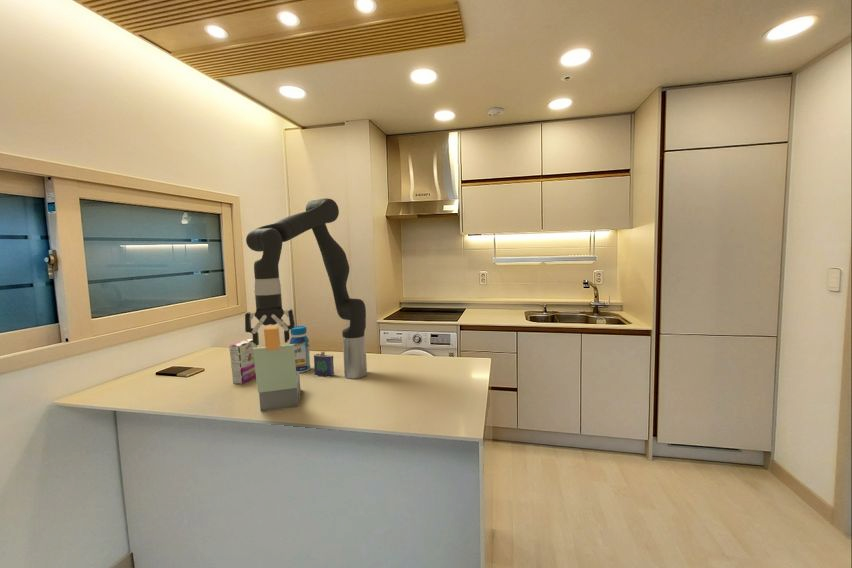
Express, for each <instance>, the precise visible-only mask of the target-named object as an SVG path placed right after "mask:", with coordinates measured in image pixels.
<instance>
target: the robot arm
mask: <svg viewBox="0 0 852 568" xmlns="http://www.w3.org/2000/svg"><path fill="white" fill-rule="evenodd" d="M339 210H340V209H339V206H338V204H337V202H336V201H335V200H333V199H332V198H328V197H327V198H326V197H325V198H320V199H315V200H314V199H313V200H309V201H308V202H307V203H306V205H305V211H303V212H298V213H295V214H292V215H288V216H287V217H283V218H281V219H279V220H277V221H275V222H273V223H269V224H265V225H263V226H259V227H256V228H253V229H251V231H249V232H248V234H247V235H246V238H245V242H246V246H247V247H248V248H249V249H250V250H251V251H255V252H261V253H262V256H261V258H260V259H257V260H255V261H254V263H253V273H254V298H255V309H256V310H255V312H249V311H247V312H246V313H245V314H244V330H245V332H246V333H250V334H252V335H251V336H252V339H253V343H254V344H255V345H257V346H259V345H260V339H259V338H260V337H259V332H258V331H259V330H260V328H261V326H262V325H264V326H268V325H269V326H276V325H278V326H280V327H281V328H282V329H283V330H284V331H283V337H284V338H283V339H284V343H288V341H290V339H291V335H290V331H291V329H292V328H294V326H296V324H295V316H294V310H293V309H292V308H290V309H287V310H286V309H285V310H284V309H283V300H282V285H281V280H280V272H279V271H280V270H279V263H280V259H281V254H282V248H283V243H285V242H288V241H290V240H292V239H294V238H296V237H297V236H299V235H302V234H304V233H305V232H307V231H310V230H312V233H313V235H314V237H315V240H316V243H317V246H318V248H319V251H320V254H321V257H322V262H323V264H324V268H325V270H326V273H327V277H328V280H329V283H330V286H331V291H332V295H333V300H334V305H335V310H336V312H337V315H338V317H339V318H340V319H342V320H344V321H345V320H347V321H349V326H348V327H346V328H344V329H342V333H341V334H342V336H341V337H342V353H343V370H344V371H343V372H344V377H345V378H346V379H353V380H355V379H360V378H363V377H367V376H368V367H367V366H368V365H367V353H366V340H365V339H366V337H365V332H366V327H367V309H366V304H365V302H364V301H363V300H362V299H360V298H352V297H351V298H350V296H349V292H348V288H347V284H348V283H347V282H348V278H349V274H350V265H349V261H348V258H347V257H348V256H347V254H346V252H345V250H344V249H343V248H342V246H341V245H340V244H339V243H338V242H337V241H336V240H335V238H334V237H332V235H331V234H330V232H329V230H328V226H327V224H331V223H333V222H335V221H337V219H338V217H339V215H340V214H339V213H340V211H339ZM284 315H285V316H286V317H287V318H288V319H289V320H288V321H289V324H287V323H286V321H285V320H283V319H282V318H283V316H284ZM254 317H255V318H256V320H257V321H258V322H257V324H256V325H255V326H254V327H252V320H253V319H254Z"/></svg>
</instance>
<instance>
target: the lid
mask: <svg viewBox="0 0 852 568" xmlns="http://www.w3.org/2000/svg"><path fill="white" fill-rule="evenodd" d="M279 326H280V325H269V326H268V325H266V326H264V329H263V333H264V335H263V336H264V342H265V343H264V345H265V346H260V347H258V346H257V348H253V355H254V363H255V372H256V377H255V379H256V386H257V388H256V389H257V393H258V394H259V393H260V392H268V391H276V390H284V389H292V388H297V376H296V364H295V352H294V344H290V343H289V344H281V340H280V339H281V338H280V329H279Z"/></svg>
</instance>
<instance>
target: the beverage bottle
mask: <svg viewBox="0 0 852 568" xmlns="http://www.w3.org/2000/svg"><path fill="white" fill-rule="evenodd" d="M307 333H308V332H307V326H306V325H295V326H294V328H292V329H290V334H291V335H290V336H291V337H290V339H289V344H294V352H295V364H296V372H299V374H301V373H305V371H306V372H308V371H310V370H311V359H310V358H311V357H310V349H311V348H310V344H309V342H310V339H309V338H308V335H307Z"/></svg>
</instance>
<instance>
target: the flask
mask: <svg viewBox="0 0 852 568" xmlns="http://www.w3.org/2000/svg"><path fill="white" fill-rule="evenodd" d="M325 353H326V350H324V351H320V353H319V352H318V353H316V354H314V355H313V364H314V367H313V368H314V369H313V371H314V376H315V375H318V376H317V377H327V376H330V377H334V376H335V368H334V367H335V366H334V355H333V354H325ZM333 375H334V376H333Z"/></svg>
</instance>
